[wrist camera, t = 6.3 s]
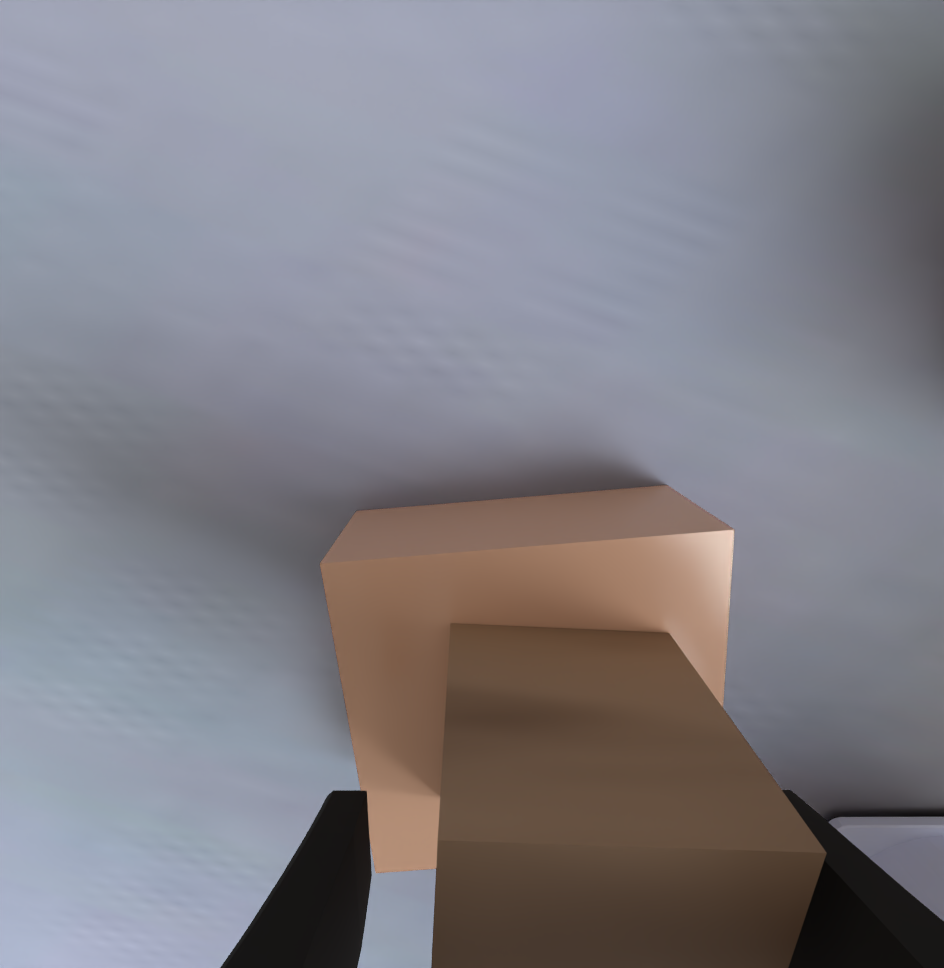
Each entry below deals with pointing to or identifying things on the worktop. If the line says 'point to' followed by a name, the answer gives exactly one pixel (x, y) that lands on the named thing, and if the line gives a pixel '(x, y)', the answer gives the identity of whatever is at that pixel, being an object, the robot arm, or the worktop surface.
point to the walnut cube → (606, 812)
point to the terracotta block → (501, 616)
